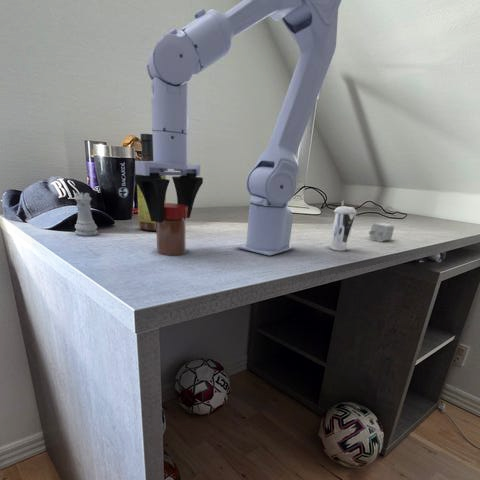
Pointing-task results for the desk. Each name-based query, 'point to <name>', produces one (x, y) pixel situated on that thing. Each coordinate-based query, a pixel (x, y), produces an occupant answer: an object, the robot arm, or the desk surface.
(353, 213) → the milkshake
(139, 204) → the sauce bottle
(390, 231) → the usb wall charger
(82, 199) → the rook chess piece
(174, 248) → the jar
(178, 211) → the cap
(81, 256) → the desk surface
